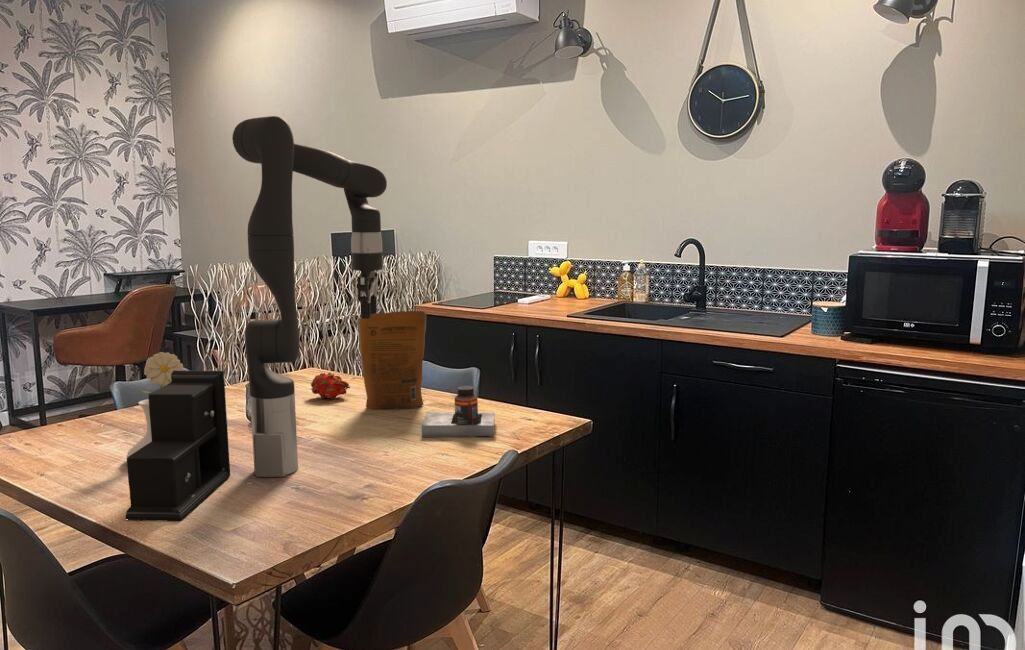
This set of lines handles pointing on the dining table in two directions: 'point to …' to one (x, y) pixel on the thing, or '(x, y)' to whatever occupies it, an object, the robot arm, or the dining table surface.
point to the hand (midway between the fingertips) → (369, 315)
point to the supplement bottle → (466, 406)
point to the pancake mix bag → (392, 358)
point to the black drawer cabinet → (181, 448)
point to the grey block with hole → (456, 425)
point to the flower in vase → (158, 374)
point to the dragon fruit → (329, 386)
